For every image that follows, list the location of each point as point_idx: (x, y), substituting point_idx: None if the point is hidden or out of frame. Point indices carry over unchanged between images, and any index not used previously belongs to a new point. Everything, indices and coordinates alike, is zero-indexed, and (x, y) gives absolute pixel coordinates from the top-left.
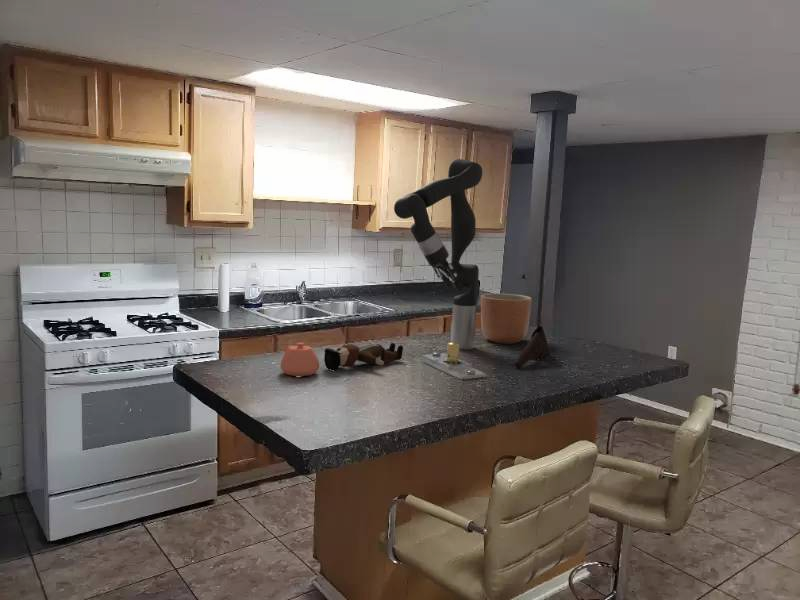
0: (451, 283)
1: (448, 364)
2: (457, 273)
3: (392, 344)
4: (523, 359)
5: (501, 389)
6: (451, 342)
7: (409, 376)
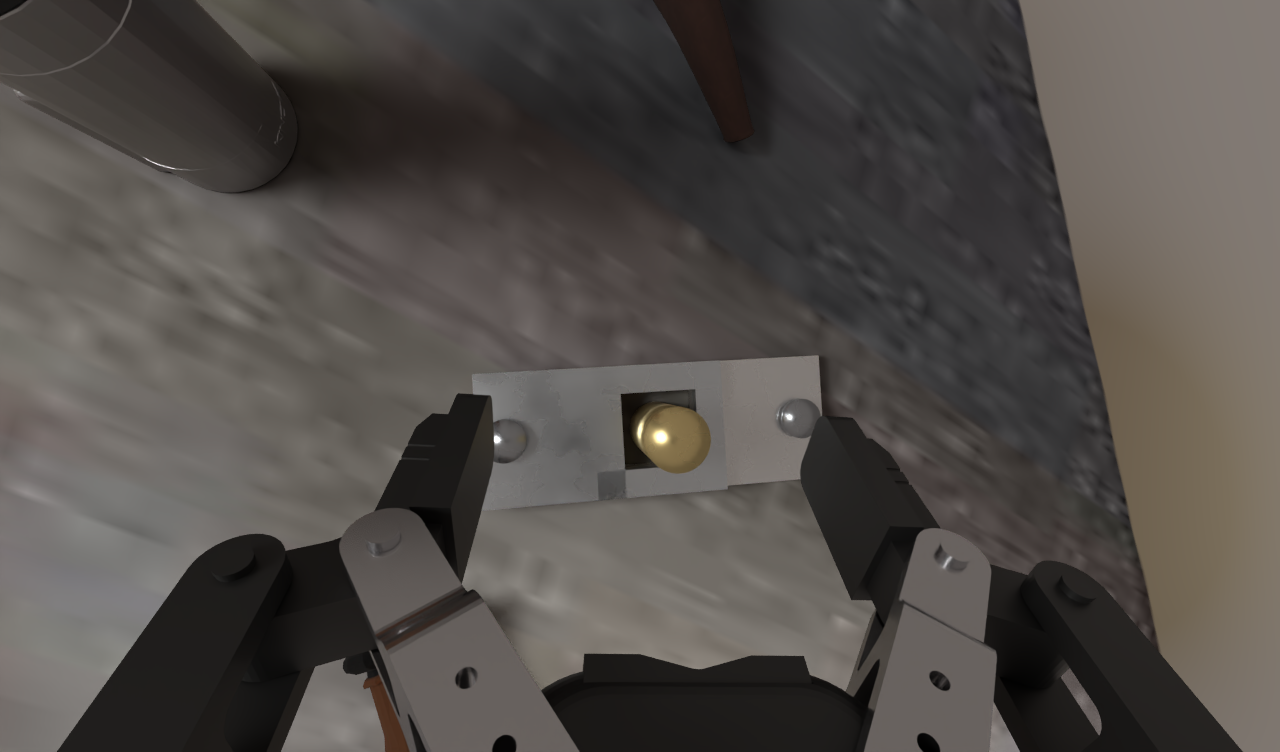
0: (483, 418)
1: (694, 470)
2: (1154, 684)
3: (367, 669)
4: (743, 90)
5: (969, 393)
6: (653, 439)
7: (713, 662)
